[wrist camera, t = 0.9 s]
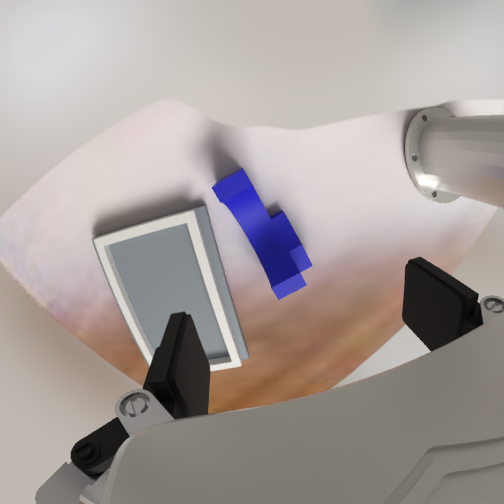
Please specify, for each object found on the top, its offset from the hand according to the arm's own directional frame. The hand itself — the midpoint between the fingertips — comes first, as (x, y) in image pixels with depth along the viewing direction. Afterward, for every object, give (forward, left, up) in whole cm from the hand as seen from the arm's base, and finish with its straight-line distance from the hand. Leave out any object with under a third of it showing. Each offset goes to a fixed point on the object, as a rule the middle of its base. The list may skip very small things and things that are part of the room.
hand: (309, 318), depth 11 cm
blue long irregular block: (0, 0, -20) cm, 20 cm away
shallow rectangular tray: (+13, +7, -19) cm, 24 cm away
